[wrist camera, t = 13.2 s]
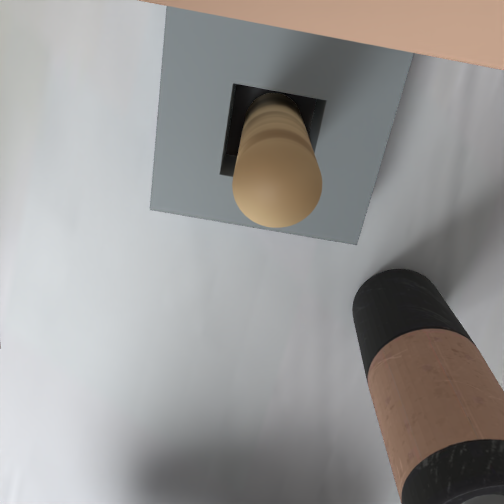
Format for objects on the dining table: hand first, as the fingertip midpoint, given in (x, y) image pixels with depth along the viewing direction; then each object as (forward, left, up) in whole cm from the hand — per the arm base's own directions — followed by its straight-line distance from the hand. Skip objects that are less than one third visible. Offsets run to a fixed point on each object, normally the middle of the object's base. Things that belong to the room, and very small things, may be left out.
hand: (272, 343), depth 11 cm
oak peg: (0, 0, -25) cm, 25 cm away
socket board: (+4, 0, -25) cm, 26 cm away
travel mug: (-13, -13, -26) cm, 31 cm away
